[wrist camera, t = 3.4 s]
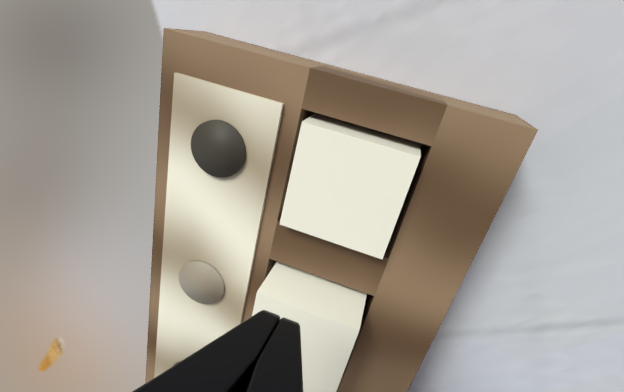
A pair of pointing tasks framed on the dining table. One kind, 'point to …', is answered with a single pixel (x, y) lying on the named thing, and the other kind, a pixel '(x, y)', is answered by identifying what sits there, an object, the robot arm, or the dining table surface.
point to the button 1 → (348, 183)
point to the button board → (272, 190)
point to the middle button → (315, 320)
